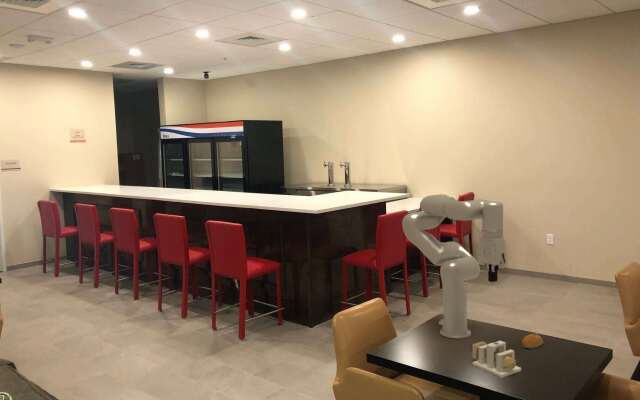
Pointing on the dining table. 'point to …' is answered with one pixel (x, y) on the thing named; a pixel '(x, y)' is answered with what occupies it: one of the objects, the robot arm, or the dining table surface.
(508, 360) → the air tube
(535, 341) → the pastry
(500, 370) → the white slotted holder
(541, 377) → the dining table surface
